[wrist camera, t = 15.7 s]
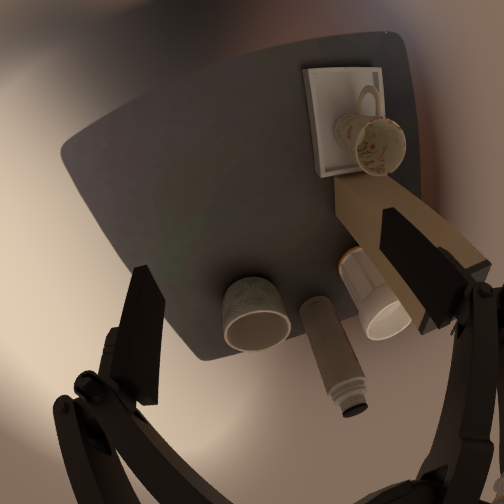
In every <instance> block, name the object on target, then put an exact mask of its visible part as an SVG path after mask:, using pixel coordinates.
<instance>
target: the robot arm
mask: <svg viewBox="0 0 504 504" xmlns="http://www.w3.org/2000/svg"><path fill="white" fill-rule="evenodd" d="M379 249H380V251H381V252H382V253H383V254H384V255H385V257H386V258H387V259H388V260H389V262H390V263H391V264H392V266H393V267H394V268H395V269H396V271H397V272H398V273H399V275H400V276H401V277H402V278H403V280H404V281H405V282H406V284H407V285H408V286H409V288H410V289H411V291H412V292H413V293H414V295H415V296H416V297H417V299H418V300H419V302H420V303H421V304H422V306H423V307H424V309H425V310H426V311H427V313H428V314H429V316H430V317H431V319H432V320H433V322H434V323H435V325H436V326H437V328H438V329H441V328H443V327H445V326H447V325H449V324H450V322H451V321H452V319H453V317H454V316H455V318H456V319H457V322H456V324H455V326H454V327H453V330H452V331H451V334H450V335H453V333H454V331H455V335H454V345H453V353H452V361H451V368H450V374H449V379H448V386H447V390H446V395H445V400H444V404H443V409H442V413H441V416H440V421H439V424H438V428H437V431H436V435H435V438H434V441H433V445H432V447H431V450H430V453H429V455H428V456H427V458H426V459H425V460H424V462H423V464H422V466H421V468H420V470H419V473H418V475H417V477H416V480H412V481H410V480H406V481H403V482H400V483H397V484H393V485H390V486H388V487H385V488H383V489H381V490H378V491H376V492H373V493H371V494H369V495H367V496H366V497H364V498H362V499H361V500H359V501H357V502H356V503H354V504H491V503H488V502H485V501H482V500H479V499H480V496H481V493H482V491H483V488H484V485H485V482H486V478H487V475H488V472H489V468H490V464H491V461H492V457H493V452H494V445H493V443H492V442H491V441H490V431H491V426H492V420H493V414H494V406H495V398H496V388H497V393H498V403H499V424H500V444H499V462H500V473H501V477H500V479H498V480H497V481H496V482H495V484H494V487H493V488H494V491H495V492H497V494H496V498H495V499H494V501H493V503H492V504H504V284H503V286H502V287H499V288H492V287H491V286H490V285H489V284H488V283H485V282H480V281H479V282H477V281H476V280H475V279H474V278H473V277H472V276H471V275H470V274H469V272H468V271H467V270H466V269H465V268H464V267H463V266H462V265H461V264H459V262H458V261H457V259H455V257H454V256H453V255H452V254H451V253H450V252H449V251H447V250H446V249H444V248H442V247H437V248H436V247H435V246H434V245H433V244H432V243H431V242H430V241H429V240H428V239H427V238H426V237H425V236H424V235H423V234H422V233H421V232H420V231H419V230H418V229H417V228H416V227H415V226H414V225H413V224H412V223H411V222H410V221H409V220H407V219H406V218H405V217H404V216H403V215H402V214H401V213H400V212H399V211H398V210H396V209H395V208H394V207H391V208H386V209H383V212H382V225H381V236H380V245H379ZM164 310H165V299H164V297H163V295H162V293H161V291H160V289H159V288H158V286H157V284H156V282H155V280H154V278H153V276H152V274H151V272H150V270H149V268H148V266H147V265H143V266H139V267H135V268H134V270H133V274H132V277H131V281H130V285H129V289H128V292H127V296H126V299H125V303H124V307H123V312H122V316H121V320H120V324H119V327H114V328H111V330H110V331H109V333H108V335H107V336H106V340H105V344H104V349H103V355H102V357H101V362H100V367H99V372H98V375H97V374H96V373H95V372H94V371H90V370H88V371H84V372H83V373H81V374H80V375H79V376H78V377H77V378H76V381H75V383H74V392H75V393H76V394H77V395H78V396H79V398H76V399H72V398H71V397H69V396H68V395H62V396H60V397H58V398H57V399H56V401H55V402H54V405H53V415H54V421H55V426H56V431H57V436H58V440H59V445H60V449H61V453H62V456H63V460H64V464H65V467H66V471H67V474H68V477H69V480H70V483H71V486H72V489H73V492H74V494H75V497H76V500H77V502H78V504H141V503H140V501H139V499H138V497H137V496H136V494H135V492H134V490H133V488H132V486H131V484H130V482H129V479H128V477H127V475H126V473H125V471H124V468H123V466H122V464H121V462H120V459H119V457H118V454H117V452H116V450H117V451H118V453H119V454H120V456H121V457H122V458H123V460H124V461H125V462H126V464H127V465H128V467H129V468H130V469H131V470H132V472H133V473H134V474H135V476H136V477H137V478H138V479H139V480H140V482H141V483H142V484H143V485H144V486H145V488H146V489H147V490H148V491H149V492H150V493H151V495H152V496H153V497H154V498H155V499H156V500H157V501H158V502H159V503H160V504H233V503H232V502H231V501H229V500H228V499H227V498H225V497H224V496H223V495H222V494H220V493H219V492H218V491H217V490H216V489H215V488H213V487H212V486H211V485H210V484H209V483H208V482H206V481H205V480H204V479H203V478H202V477H201V476H200V475H199V474H198V473H197V472H196V471H195V470H193V469H192V468H191V467H190V466H189V465H188V464H187V463H186V462H185V461H184V460H183V459H182V458H181V457H180V456H179V455H178V454H177V453H176V452H175V451H174V450H173V449H172V448H171V447H170V446H169V445H168V443H167V442H166V441H165V440H164V439H163V438H162V437H161V436H160V434H159V433H158V432H157V431H156V430H155V429H154V428H153V426H152V425H151V424H150V423H149V422H148V421H147V420H146V418H145V417H144V416H143V415H142V413H141V412H140V411H139V410H138V409H137V408H136V401H138V402H139V403H140V404H141V405H143V406H146V405H158V385H159V368H160V352H161V340H162V329H163V319H164Z"/></svg>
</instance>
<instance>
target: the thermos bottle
mask: <svg viewBox="0 0 504 504" xmlns="http://www.w3.org/2000/svg"><path fill="white" fill-rule="evenodd" d="M299 313H300V316H301V319H302V322H303V325H304V328H305V331H306V333H307V336H308V338H309V341H310V344H311V347H312V350H313V353H314V356H315V359H316V362H317V365H318V368H319V371H320V374H321V377H322V380H323V382H324V386H325V389H326V392H327V395H328V396H329V397H332V400H333V401H334V404H335V405H338V406H340V407H341V410H342V411H343V417H345V418H348V417H352V416H355V415H358V414H360V413H362V412H363V411H365V410H366V409H367V408H368V406H367V404H366V400H365V397H364V395H365V394H366V391H367V390H366V386H365V385H364V384H365V382H366V378H365V376H364V373H363V371H362V369H361V366H360V364H359V362H358V359H357V357H356V355H355V353H354V350H353V348H352V346H351V344H350V342H349V339H348V337H347V335H346V333H345V331H344V329H343V326H342V324H341V322H340V320H339V318H338V316H337V313H336V311H335V309H334V307H333V305H332V303H331V301H330V299H329V298H327V297H325V296H315V297H312V298H310V299H308V300H307V301H305V302H304V303H303V304H302V305H301V307H300V310H299Z"/></svg>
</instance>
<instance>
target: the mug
mask: <svg viewBox="0 0 504 504" xmlns="http://www.w3.org/2000/svg"><path fill="white" fill-rule="evenodd" d="M368 93H371V94H372V95H373V96H374V98H375V100H376V116H365V115H361V114H362V105H363V100H364V97H365V96H366V94H368ZM382 114H383V101H382V97H381V95H380V93H379V91H378V90H377V89H376V88H375V87H374V86H372V85H367V86H365V87H364V88H363V89H362V90H361V92H360V95H359V97H358V115H352V114H349V115H345V116H342V117H341V118H340V119H338V121H337V122H336V124H335V126H334V131H333V134H334V138H335V141H336V142H337V144H338V145H339V146H340V147H341V148H342V149H343V150H344V151H345V152H346V153H347V154H348V155H349V156H350V157H351V158H352V159H353V160H354V161H355V162H356V164H357V165H358V166H359V167H360V168H361V169H362V170H363V171H365V172H366V173H368V174H370V175H372V176H385V175H388V174H390V173H392V172H393V171H394V170H395V169H396V168H397V167H398V166H399V165H400V163H401V162H402V160H403V158H404V155H405V150H406V141H405V136H404V133H403V131H402V129H401V128H400V127H399V125H398V124H396V123H395V122H394V121H392V120H390V119H387V118H383V117H382Z"/></svg>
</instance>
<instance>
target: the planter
mask: <svg viewBox="0 0 504 504" xmlns="http://www.w3.org/2000/svg"><path fill="white" fill-rule="evenodd" d="M223 327H224V338H225V341H226V342H227V344H228V345H230V346H231V347H232V348H234V349H236V350H239V351H244V352H259V351H264V350H267V349H270V348H273V347H275V346H276V345H278V344H280V343H281V342H283V341H284V340H285V339H286V338H287V336H288V335H289V333H290V330H291V323H290V320H289V317H288V315H287V312H286V309H285V306H284V304H283V301H282V299H281V296H280V294H279V292H278V290H277V289H276V287H275V286H274V285H273V284H272V283H271V282H270V281H268V280H266V279H264V278H260V277H246V278H243V279H240V280H238V281H236V282H234V283H233V284H232V285H231V286H230V287H229V288H228V289H227V291H226V293H225V295H224V299H223Z"/></svg>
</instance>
